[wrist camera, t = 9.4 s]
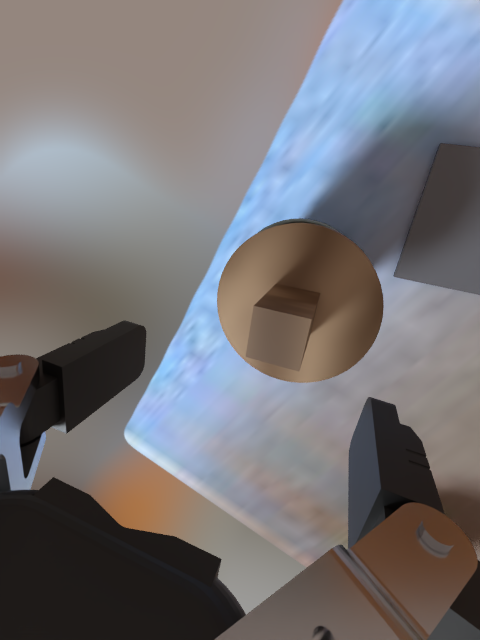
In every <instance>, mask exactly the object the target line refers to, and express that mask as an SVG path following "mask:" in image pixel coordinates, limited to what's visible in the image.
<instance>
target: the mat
mask: <svg viewBox="0 0 480 640" xmlns="http://www.w3.org/2000/svg"><path fill="white" fill-rule="evenodd" d="M394 277H397V278H402V279H407V280H412V281H416V282H421V283H426V284H431V285H435V286H440V287H445V288H449V289H454V290H459V291H464V292H468V293H473V294H478V295H480V147H471V146H462V145H453V144H444V143H441V144H440V145H439V147H438V150H437V153H436V156H435V159H434V162H433V164H432V167H431V170H430V173H429V176H428V179H427V182H426V184H425V187H424V190H423V193H422V196H421V199H420V202H419V204H418V207H417V210H416V213H415V216H414V219H413V222H412V224H411V227H410V230H409V233H408V236H407V239H406V242H405V244H404V247H403V250H402V253H401V256H400V259H399V261H398V264H397V267H396V270H395V273H394Z"/></svg>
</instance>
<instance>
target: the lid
mask: <svg viewBox="0 0 480 640" xmlns="http://www.w3.org/2000/svg"><path fill="white" fill-rule="evenodd" d="M217 306H218V314H219V319H220V323H221V326H222V329H223V331H224V333H225V335H226V337H227V339H228V341H229V342H230V344H231V346H232V347H233V348H234V349H235V351H236V352H237V353H238V354H239V355H240V356H241V357H242V358H243V359H244V360H245V361H246V362H247V363H248V364H250V365H251V366H252V367H254V368H255V369H257V370H259V371H260V372H262V373H264V374H266V375H268V376H271V377H274V378H277V379H280V380H284V381H289V382H298V383H304V382H316V381H321V380H325V379H329V378H332V377H334V376H337V375H339V374H341V373H343V372H345V371H347V370H348V369H350V368H351V367H352V366H354V365H355V364H356V363H357V362H358V361H359V360H361V359H362V358H363V357H364V355H365V354H366V353H367V352H368V350H369V349H370V348H371V346H372V344H373V343H374V341H375V339H376V337H377V334H378V332H379V330H380V326H381V322H382V317H383V294H382V289H381V284H380V281H379V279H378V276H377V273H376V271H375V269H374V267H373V266H372V264H371V262H370V260H369V259H368V257H367V256H366V255H365V254H364V252H363V251H362V250H361V249H360V248H359V247H358V246H357V245H356V244H355V243H354V242H353V241H351V240H350V239H349V238H347V237H346V236H344V235H343V234H341V233H339V232H337V231H335V230H333V229H330V228H327V227H325V226H321V225H316V224H310V223H289V224H284V225H279V226H275V227H272V228H269V229H266V230H263V231H261V232H259V233H257V234H255V235H254V236H252V237H251V238H249V239H248V240H247V241H245V242H244V243H243V244H242V245H241V246H240V247H239V248H238V249H237V250H236V251H235V252H234V254H233V255H232V256H231V258H230V259H229V261H228V262H227V264H226V266H225V268H224V270H223V272H222V275H221V279H220V282H219V287H218V294H217Z"/></svg>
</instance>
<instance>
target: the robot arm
mask: <svg viewBox="0 0 480 640" xmlns="http://www.w3.org/2000/svg"><path fill="white" fill-rule="evenodd" d="M145 346H146V330H145V327H144V326H141V325H138V324H135V323H132V322H128V321H122V322H120V323H118V324H116V325H113V326H111V327H109V328H107V329H105V330H101V331H96V332H92V333H91V334H88V335H86V336H84V337H82V338H81V339H77V340H75V341H73V342H72V343H71V344H70V343H69V344H67V345H64V346H62V347H60V348H58V349H56V350H53V351H51V352H49V353H47V354H45V355H43V356H41V357H38V358H34V357H31V356H28V355H6V356H1V357H0V640H480V561H478V560H477V555H476V552H475V549H474V547H473V545H472V543H471V542H470V540H469V539H468V537H467V536H466V534H465V533H464V532H463V531H462V530H461V529H460V528H459V527H458V525H457V524H455V523H454V522H453V521H452V520H451V519H450V518H448V517H447V516H446V515H445V514H444V510H443V507H442V504H441V501H440V498H439V495H438V491H437V488H436V485H435V482H434V479H433V476H432V472H431V470H429V469H430V466H429V463H428V460H427V458H426V453H425V450H424V447H423V444H422V441H421V440H420V439H419V437H418V436H417V435H416V434H415V432H414V431H413V430H412V429H411V427H409V426H406V425H402V424H400V423H399V418H398V414H397V410H396V406H395V405H394V404H390V403H387V402H384V401H381V400H378V399H374V398H371V397H369V398H368V399H367V401H366V403H365V405H364V408H363V410H362V413H361V416H360V418H359V421H358V424H357V426H356V429H355V431H354V434H353V437H352V440H351V444H350V449H349V507H348V550H346V549H345V548H344V547H343V545H337V546H335V547H333V548H332V549H330V550H329V551H328V552H326V553H325V554H324V555H323V556H321V557H320V558H319V559H317V560H316V561H315V562H314V563H312V564H311V565H310V566H308V567H307V568H306V569H305V570H303V571H302V572H301V573H299V574H298V575H297V576H296V577H295V578H293V579H292V580H291V581H289V582H288V583H287V584H285V585H284V586H283V587H281V588H280V589H279V590H278V591H276V592H275V593H274V594H272V595H271V596H270V597H269V598H267V599H266V600H265V601H263V602H262V603H261V604H260V605H258V606H257V607H256V608H254V609H253V610H252V611H251V612H249V613H248V614H247V615H246V614H245V612H244V610H243V609H242V607H241V606H240V604H239V603H238V601H237V599H236V598H235V597H234V595H233V594H232V593H231V592H230V591H229V590H228V588H227V587H226V586H225V585H224V584H223V583H222V582H221V581H220V580H219V579H218V578H217V577H218V572H219V568H220V563H221V559H220V558H218V557H216V556H214V555H212V554H210V553H208V552H206V551H204V550H201V549H199V548H197V547H195V546H193V545H191V544H189V543H187V542H185V541H183V540H181V539H179V538H177V537H174V536H169V535H163V534H157V533H152V532H146V531H140V530H135V529H129V528H125V527H123V526H121V525H120V524H118V523H117V522H116V521H115V520H114V519H113V518H112V517H111V516H110V515H109V514H108V513H107V512H106V511H105V510H104V509H103V508H102V507H101V506H100V505H99V504H98V503H97V502H96V501H95V500H94V499H93V498H92V497H91V496H90V495H89V494H87V493H85V492H82V491H81V490H79V489H76V488H74V487H72V486H70V485H68V484H66V483H64V482H62V481H60V480H58V479H56V478H54V477H53V478H52V479H51V480H50V481H49V482H48V483H47V484H45V485H44V486H43V487H42V488H41V489H40V490H30V489H31V485H32V482H33V479H34V475H35V472H36V469H37V466H38V463H39V459H40V456H41V453H42V449H43V446H44V443H45V439H46V436H45V431H46V430H48V429H49V428H50V427H52V428H54V429H57V430H59V431H61V432H64V433H68V432H69V431H70V430H72V429H73V428H74V427H75V426H77V425H78V424H79V423H81V422H82V421H83V420H85V419H86V418H87V417H88V416H90V415H91V414H92V413H94V412H95V411H96V410H97V409H99V408H100V407H101V406H103V405H104V404H105V403H106V402H108V401H109V400H110V399H111V398H113V397H114V396H116V395H117V394H118V393H119V392H121V391H122V390H123V389H125V388H126V387H127V386H128V385H130V384H131V383H132V382H133V381H135V380H136V379H137V378H138V377H139V376H140V374H141V373H142V371H143V368H144V363H145Z"/></svg>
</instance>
